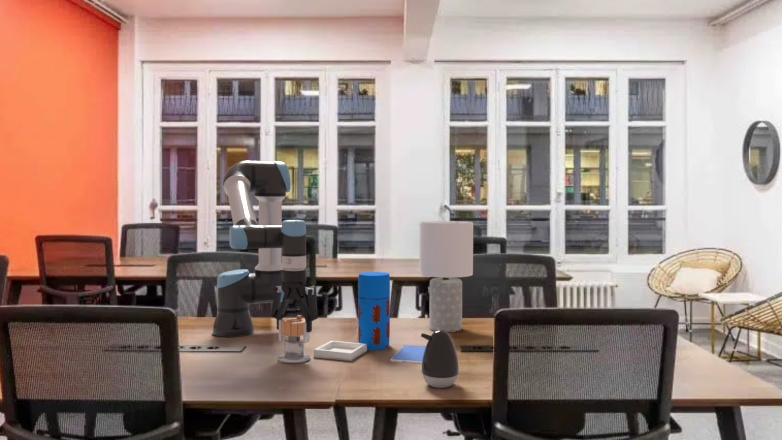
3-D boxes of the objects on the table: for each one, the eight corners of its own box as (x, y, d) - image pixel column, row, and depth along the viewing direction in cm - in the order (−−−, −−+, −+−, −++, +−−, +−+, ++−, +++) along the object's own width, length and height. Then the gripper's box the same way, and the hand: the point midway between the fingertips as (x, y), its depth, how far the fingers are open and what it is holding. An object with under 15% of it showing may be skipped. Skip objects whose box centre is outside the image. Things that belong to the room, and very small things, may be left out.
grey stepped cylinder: (272, 361, 189) (271, 322, 189) (288, 354, 198) (288, 316, 198) (300, 365, 186) (300, 325, 185) (315, 357, 195) (315, 318, 194)
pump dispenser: (418, 380, 171) (418, 326, 170) (454, 379, 172) (455, 325, 171) (423, 391, 161) (423, 334, 160) (462, 390, 162) (462, 333, 161)
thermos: (394, 344, 212) (395, 272, 211) (381, 351, 202) (381, 276, 201) (366, 341, 217) (367, 271, 216) (352, 347, 207) (352, 274, 206)
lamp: (481, 327, 240) (481, 222, 238) (457, 337, 223) (458, 223, 221) (434, 321, 251) (435, 220, 249) (409, 330, 234) (409, 222, 232)
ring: (289, 329, 197) (289, 314, 197) (311, 331, 194) (311, 316, 194) (276, 334, 189) (276, 319, 189) (299, 337, 187) (299, 320, 186)
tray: (313, 357, 195) (313, 349, 195) (331, 347, 207) (331, 340, 207) (350, 361, 190) (350, 353, 190) (366, 351, 202) (366, 343, 202)
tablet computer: (428, 366, 187) (429, 361, 187) (389, 363, 190) (389, 358, 190) (439, 350, 206) (439, 346, 206) (403, 348, 209) (403, 344, 209)
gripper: (258, 269, 191) (259, 340, 192) (318, 272, 184) (318, 346, 185) (271, 266, 198) (271, 335, 199) (329, 269, 191) (329, 341, 192)
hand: (294, 341), depth 192 cm, fingers closed on ring, 8 cm apart
